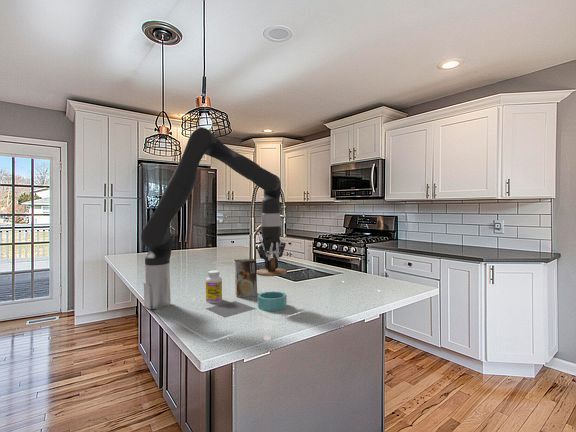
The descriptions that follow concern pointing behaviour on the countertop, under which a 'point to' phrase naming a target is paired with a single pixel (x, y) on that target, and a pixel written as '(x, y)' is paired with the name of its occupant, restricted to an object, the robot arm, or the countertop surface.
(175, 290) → the countertop surface
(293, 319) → the countertop surface
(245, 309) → the mat
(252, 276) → the coffee box
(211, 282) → the supplement bottle
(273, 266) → the lid
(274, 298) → the bowl
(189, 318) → the countertop surface
